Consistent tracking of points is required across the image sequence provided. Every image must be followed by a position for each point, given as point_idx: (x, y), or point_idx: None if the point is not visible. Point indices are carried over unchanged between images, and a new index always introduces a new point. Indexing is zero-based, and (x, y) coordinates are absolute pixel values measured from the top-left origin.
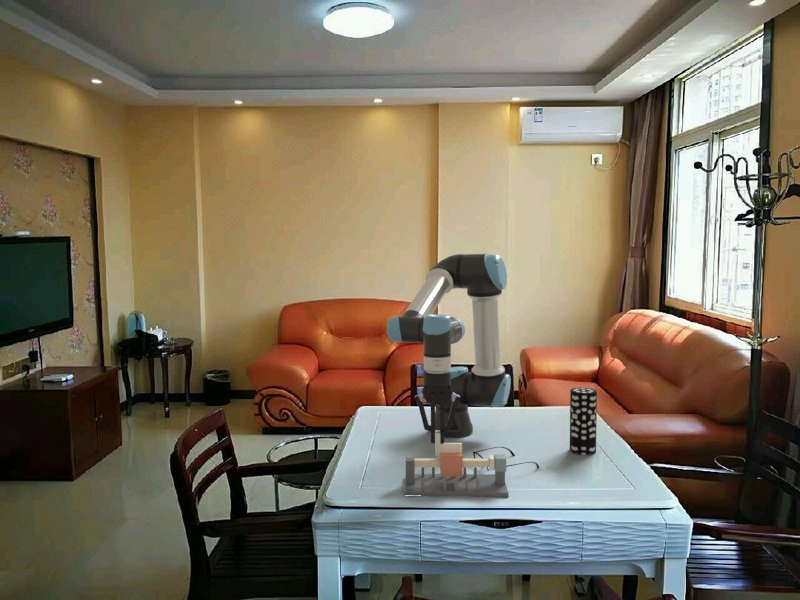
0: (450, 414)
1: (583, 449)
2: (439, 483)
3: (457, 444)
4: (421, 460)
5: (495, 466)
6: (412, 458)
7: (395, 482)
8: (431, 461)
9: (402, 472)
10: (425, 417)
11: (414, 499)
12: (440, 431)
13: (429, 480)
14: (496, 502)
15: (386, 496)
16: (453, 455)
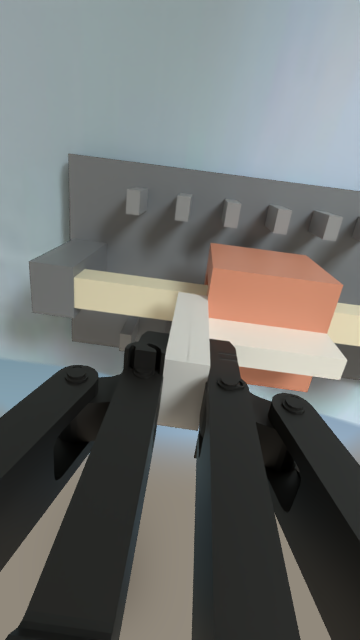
0: (331, 623)
1: None
2: (198, 280)
3: (309, 374)
4: (109, 311)
5: None
6: (63, 282)
7: (37, 201)
8: (158, 317)
9: (56, 66)
10: (20, 537)
11: (109, 358)
12: (196, 455)
13: (164, 244)
14: (344, 407)
15: (22, 326)
16: (261, 382)
